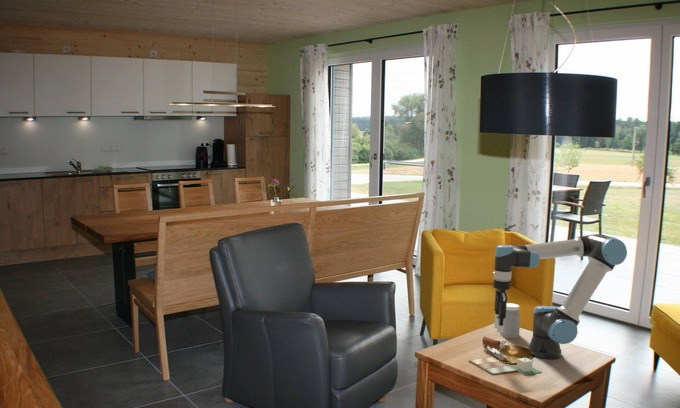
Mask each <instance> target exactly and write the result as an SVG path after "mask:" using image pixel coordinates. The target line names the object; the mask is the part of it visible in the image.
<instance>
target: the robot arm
mask: <svg viewBox="0 0 680 408" xmlns="http://www.w3.org/2000/svg"><path fill="white" fill-rule="evenodd" d="M627 255H628V249H627V247H626V244H625V242H623V241H622V240H621V239H618V238H617V237H614V236H608V235H605V234H601V233H599V234H598V233H597V234H596V233H595V234H586V235H581V236H575V238H573V239H566V240H565V239H564V240H556V241H549V242H538V243H533V244H523V245H522V244H521V245H515V244H510V245H506V244H498V245H496V247H495V253H494V271H492V274H493V284H492V287H493V288H494V289H495V296H494V298H495V299H494V307H493V308H494V309H493V310H494V313H495V314H494V326H493V328H494V329H495V330H496V332H497V333H500V332H502V333H503V330H504V318H506V304H507V303H508V296H507V293H506V291H508V290H511V283H512V282H511V280H512V273H513V272H512V269H513V268H528V269H534V268H537V267H538V266H539V265H540V260H544V259H556V258H562V257H563V258H565V257H570V256H571V257H572V256H577V257H579V258H583V257H587V260H588V263H587V264H586V266H585V267H584V269H583V271H582V273H581V274H580V276H579V277H578V280H576V281H575V284H574V285H573V286H572V288H571V291H570V292H569V293H568V294H567V297H566V298H565V300H564V301H563V303H562V305H561V306H551V305H538V306H535V307H534V309H533V322H532V324H533V325H532V337H531V340H530V343H529V345H528V347H527V349H529V350H530V351H532V352H533V353H534V354H535V356H534V357H537V358H540V359H558V358H559V359H560V358H561V357H562V349H561V345H567V344H570V343H571V342H573V341H574V340H575V339H576V337H577V335H578V332H579V331H578V325H579V324H580V316H581V314H582V313H583V311H584V309H585V307H586V306H587V304H589V303H588V302H589V301H590V300H591V298H592V296H593V294H594V293H595V292H596V290H597V289H598V287H599V285H600V284H601V282H602V281H603V280H604V277H605V276H606V274H607V273H608V272H612V271H613V270H614V269H615V266H618V265H621V264H622V263H624V261H626V258H627Z"/></svg>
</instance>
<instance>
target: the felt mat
mask: <svg viewBox="0 0 680 408" xmlns="http://www.w3.org/2000/svg"><path fill="white" fill-rule="evenodd" d="M508 365H509V364H508ZM510 366H512V367H514V368H516V369H517V365H510ZM517 370H519V369H517ZM517 372H518V373H520V374H522V375H524V376H529V375H535V374H541V373H542V371H541V370H539V369H536V368H534V367H532V371H527V372H523V371H521V370H519V371H517Z"/></svg>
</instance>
